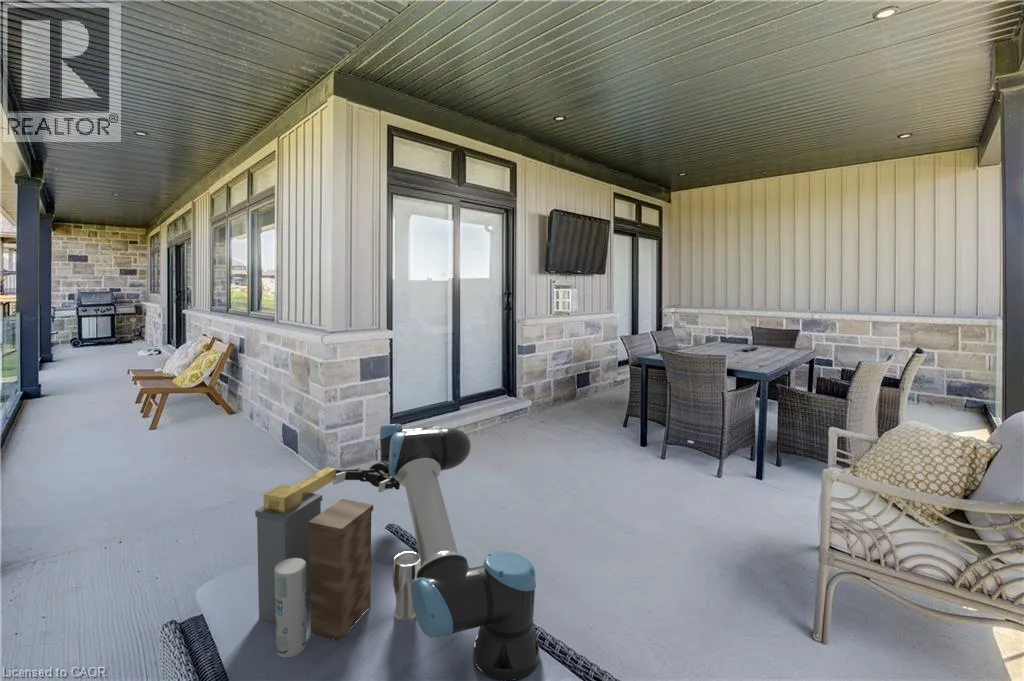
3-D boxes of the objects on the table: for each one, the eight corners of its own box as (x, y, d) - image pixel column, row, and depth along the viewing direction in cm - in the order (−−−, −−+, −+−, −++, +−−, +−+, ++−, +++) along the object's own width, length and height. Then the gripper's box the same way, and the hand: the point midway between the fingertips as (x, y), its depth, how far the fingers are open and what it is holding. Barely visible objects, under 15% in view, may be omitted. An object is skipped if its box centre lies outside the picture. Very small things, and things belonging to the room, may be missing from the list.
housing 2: (341, 600, 131) (342, 498, 128) (372, 607, 129) (373, 504, 125) (308, 633, 119) (308, 521, 115) (341, 642, 116) (341, 528, 113)
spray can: (310, 649, 114) (310, 567, 111) (280, 662, 109) (279, 577, 107) (301, 633, 119) (301, 554, 116) (272, 645, 114) (270, 563, 112)
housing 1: (294, 588, 135) (293, 489, 132) (322, 595, 133) (322, 495, 129) (257, 618, 123) (255, 510, 119) (287, 627, 120) (286, 517, 117)
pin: (284, 514, 118) (284, 498, 118) (263, 509, 120) (263, 494, 120) (340, 479, 139) (340, 466, 139) (322, 476, 141) (322, 462, 141)
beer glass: (413, 625, 123) (414, 568, 121) (387, 620, 124) (388, 564, 123) (424, 607, 130) (425, 553, 128) (399, 602, 131) (400, 549, 129)
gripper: (417, 491, 162) (396, 504, 141) (344, 479, 164) (313, 489, 143) (421, 468, 162) (401, 477, 141) (348, 456, 165) (318, 463, 144)
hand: (357, 483), depth 142 cm, fingers open, 13 cm apart
